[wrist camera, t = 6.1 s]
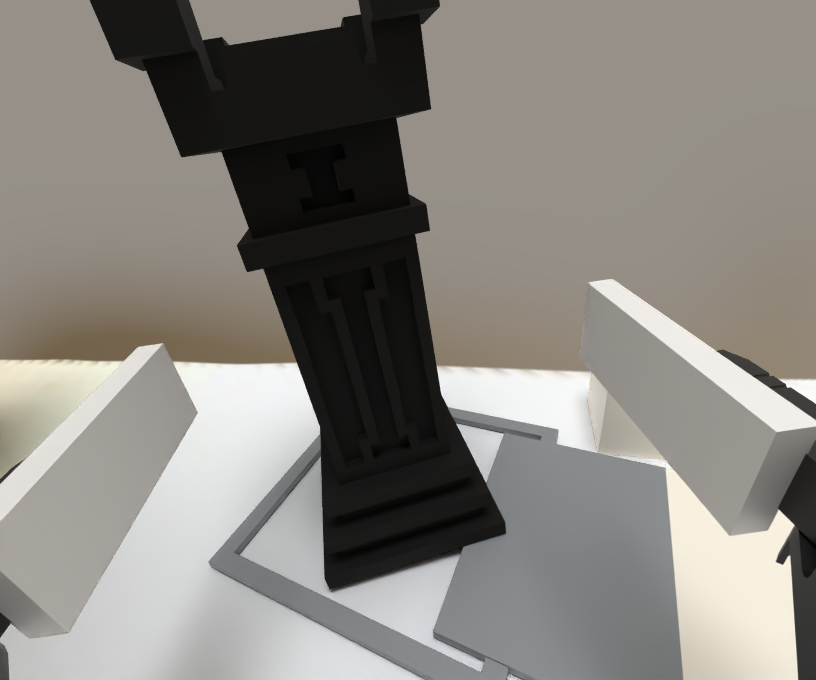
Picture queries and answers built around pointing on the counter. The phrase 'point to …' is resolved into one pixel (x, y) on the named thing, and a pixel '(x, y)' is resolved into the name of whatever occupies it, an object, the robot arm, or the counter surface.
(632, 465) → the track
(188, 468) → the counter surface
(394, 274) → the chess piece
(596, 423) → the die
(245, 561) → the grey flat square frame
